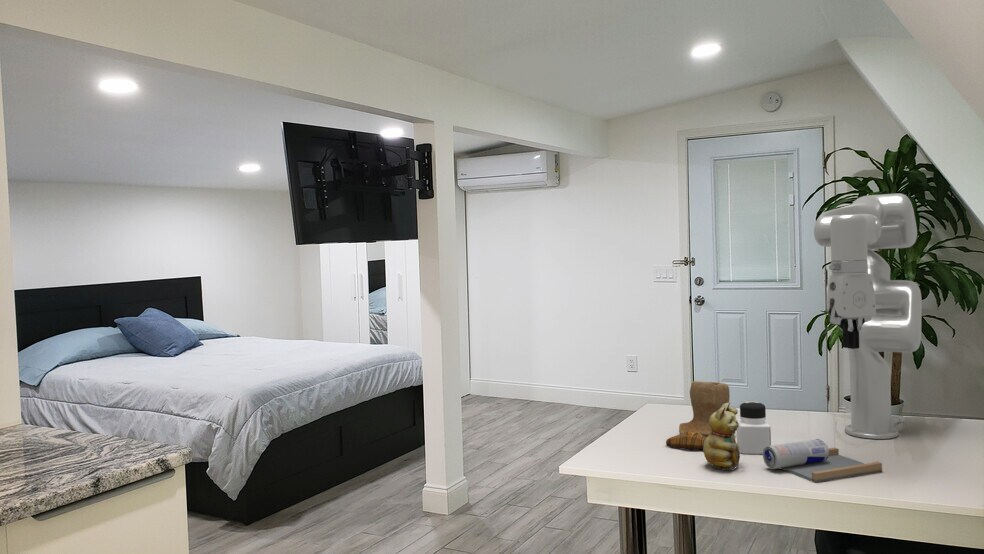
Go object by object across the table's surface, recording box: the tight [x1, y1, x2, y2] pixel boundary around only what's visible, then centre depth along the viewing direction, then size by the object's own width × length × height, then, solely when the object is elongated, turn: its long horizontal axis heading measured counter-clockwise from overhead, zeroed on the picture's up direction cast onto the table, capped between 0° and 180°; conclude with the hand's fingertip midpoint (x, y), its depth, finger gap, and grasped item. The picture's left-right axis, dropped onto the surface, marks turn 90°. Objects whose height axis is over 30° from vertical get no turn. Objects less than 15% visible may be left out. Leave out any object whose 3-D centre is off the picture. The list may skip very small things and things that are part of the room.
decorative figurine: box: [702, 402, 741, 471], centre depth 168 cm, size 10×8×15 cm
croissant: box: [665, 430, 707, 451], centre depth 185 cm, size 14×7×5 cm, turn 64°
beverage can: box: [762, 438, 829, 470], centre depth 166 cm, size 5×5×15 cm
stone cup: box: [678, 380, 736, 437], centre depth 197 cm, size 15×12×15 cm
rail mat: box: [780, 447, 883, 484], centre depth 164 cm, size 18×14×2 cm
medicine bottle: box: [736, 401, 772, 455], centre depth 181 cm, size 7×7×12 cm
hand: (851, 347), depth 165 cm, fingers closed
